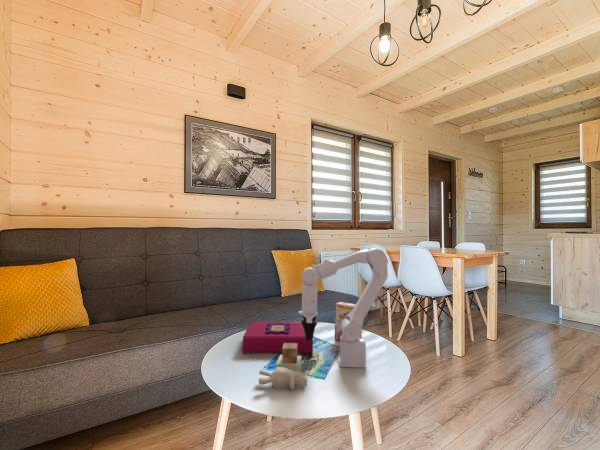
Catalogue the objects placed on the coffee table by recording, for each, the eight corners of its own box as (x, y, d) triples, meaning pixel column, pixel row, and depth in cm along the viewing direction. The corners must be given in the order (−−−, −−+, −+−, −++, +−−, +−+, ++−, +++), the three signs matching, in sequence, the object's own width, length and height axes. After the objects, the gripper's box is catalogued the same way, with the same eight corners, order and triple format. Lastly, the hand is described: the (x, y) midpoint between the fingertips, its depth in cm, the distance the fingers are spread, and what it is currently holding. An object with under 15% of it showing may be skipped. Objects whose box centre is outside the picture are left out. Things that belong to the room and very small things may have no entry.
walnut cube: (297, 357, 113) (297, 343, 113) (296, 363, 108) (296, 348, 108) (283, 356, 113) (283, 343, 113) (282, 362, 108) (282, 348, 108)
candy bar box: (334, 340, 138) (334, 303, 138) (338, 337, 143) (339, 301, 143) (357, 345, 132) (358, 307, 132) (362, 342, 136) (362, 304, 137)
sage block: (301, 365, 114) (301, 355, 114) (298, 375, 106) (299, 365, 106) (280, 364, 115) (280, 354, 115) (275, 374, 107) (275, 364, 107)
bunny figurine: (308, 379, 95) (259, 375, 93) (306, 396, 95) (257, 392, 93) (305, 365, 104) (260, 361, 103) (303, 381, 104) (258, 377, 103)
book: (313, 355, 123) (313, 336, 123) (242, 355, 123) (242, 336, 123) (310, 336, 144) (310, 320, 144) (249, 336, 144) (250, 320, 144)
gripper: (299, 295, 124) (299, 329, 124) (298, 304, 109) (297, 343, 109) (317, 296, 123) (317, 330, 123) (318, 305, 109) (317, 344, 109)
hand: (309, 336), depth 116 cm, fingers open, 7 cm apart
